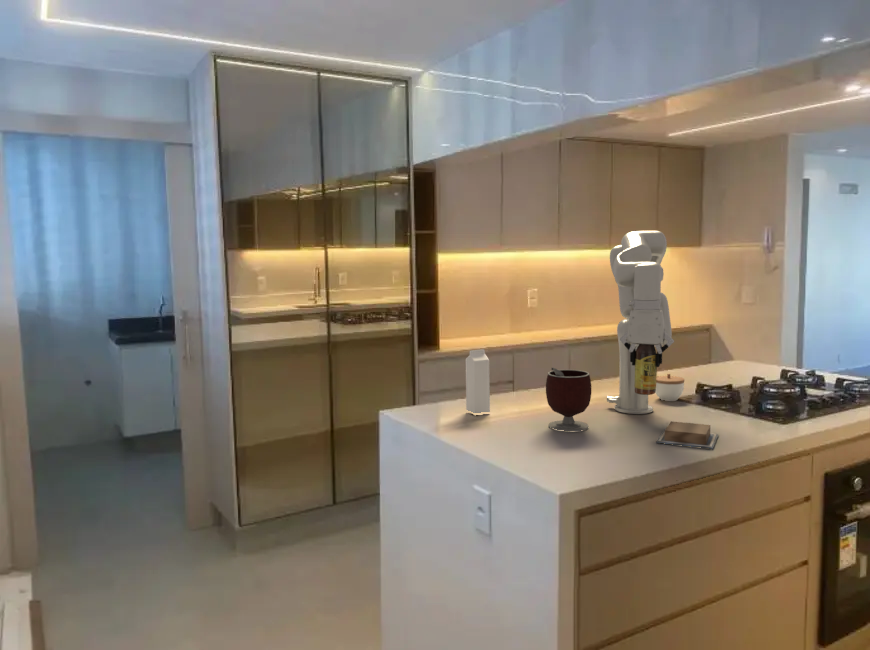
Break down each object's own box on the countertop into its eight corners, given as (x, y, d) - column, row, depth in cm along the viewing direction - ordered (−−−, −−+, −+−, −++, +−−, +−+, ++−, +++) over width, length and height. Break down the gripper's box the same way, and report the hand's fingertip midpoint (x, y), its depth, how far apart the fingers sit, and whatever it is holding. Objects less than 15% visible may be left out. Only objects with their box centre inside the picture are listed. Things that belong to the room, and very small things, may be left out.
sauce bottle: (645, 396, 200) (645, 329, 197) (629, 392, 205) (630, 327, 203) (661, 393, 203) (662, 327, 200) (646, 390, 208) (646, 325, 206)
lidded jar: (687, 397, 250) (687, 372, 249) (680, 403, 241) (680, 377, 240) (657, 395, 255) (657, 370, 254) (649, 400, 246) (649, 375, 245)
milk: (466, 413, 234) (464, 349, 231) (481, 410, 236) (480, 348, 234) (475, 416, 228) (473, 351, 226) (490, 414, 231) (489, 350, 229)
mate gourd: (562, 419, 222) (562, 358, 220) (599, 426, 212) (600, 363, 210) (533, 428, 211) (533, 365, 209) (571, 436, 201) (571, 370, 199)
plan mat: (655, 443, 193) (656, 431, 192) (664, 430, 206) (665, 419, 205) (712, 449, 186) (713, 436, 185) (718, 436, 199) (718, 424, 198)
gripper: (614, 306, 201) (613, 365, 204) (675, 307, 193) (674, 369, 196) (620, 303, 208) (619, 361, 210) (679, 305, 200) (678, 365, 202)
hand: (646, 364), depth 203 cm, fingers closed on sauce bottle, 6 cm apart
